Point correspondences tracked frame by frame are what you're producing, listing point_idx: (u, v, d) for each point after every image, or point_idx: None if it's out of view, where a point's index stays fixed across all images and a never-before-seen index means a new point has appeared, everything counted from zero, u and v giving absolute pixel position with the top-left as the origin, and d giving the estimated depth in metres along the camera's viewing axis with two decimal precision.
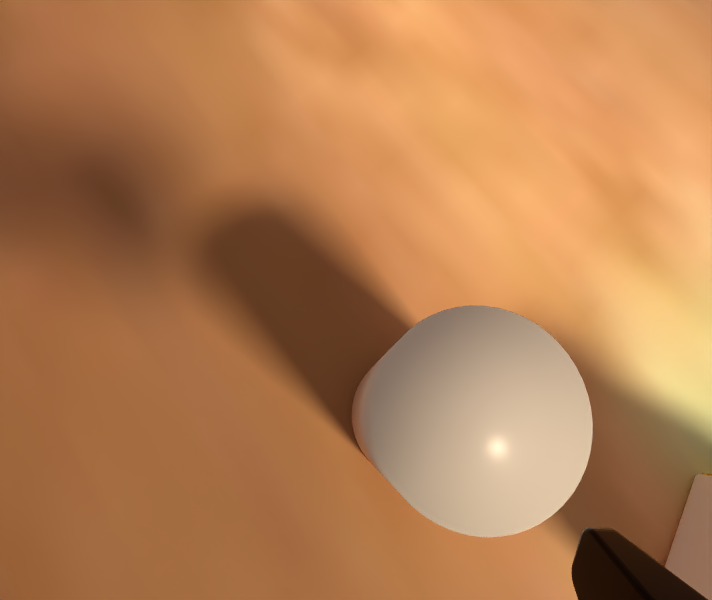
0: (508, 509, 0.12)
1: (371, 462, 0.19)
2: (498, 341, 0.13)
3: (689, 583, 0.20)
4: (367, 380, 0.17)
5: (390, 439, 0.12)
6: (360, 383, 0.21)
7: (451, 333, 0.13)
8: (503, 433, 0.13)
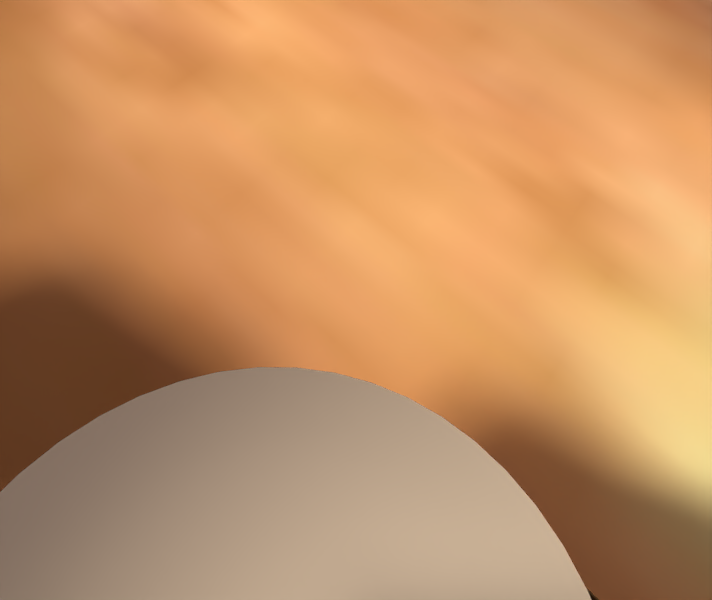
0: None
1: None
2: (299, 464, 0.05)
3: None
4: None
5: None
6: None
7: (155, 461, 0.04)
8: None
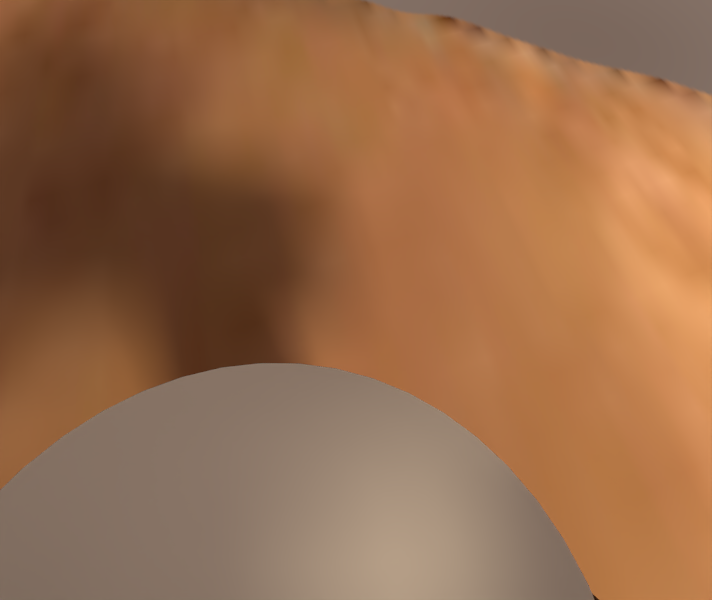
0: None
1: None
2: (303, 459, 0.05)
3: None
4: None
5: None
6: None
7: (159, 456, 0.04)
8: None
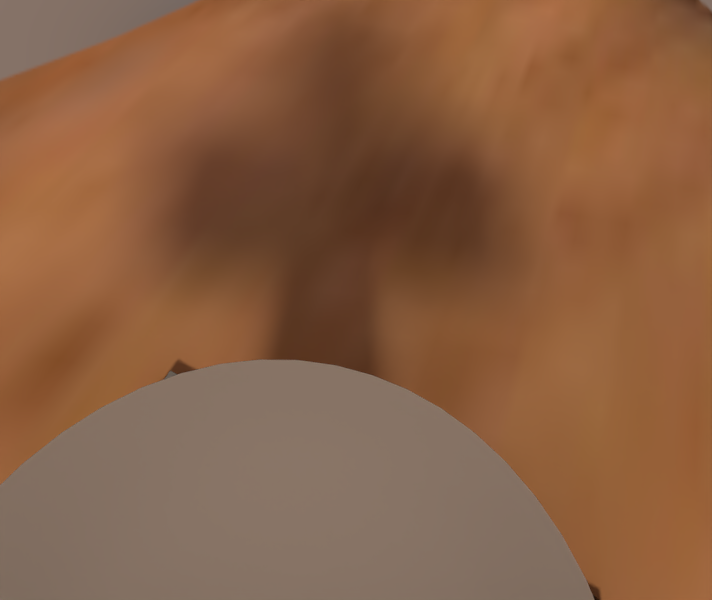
0: None
1: None
2: (302, 455, 0.05)
3: None
4: None
5: None
6: None
7: (158, 452, 0.04)
8: None
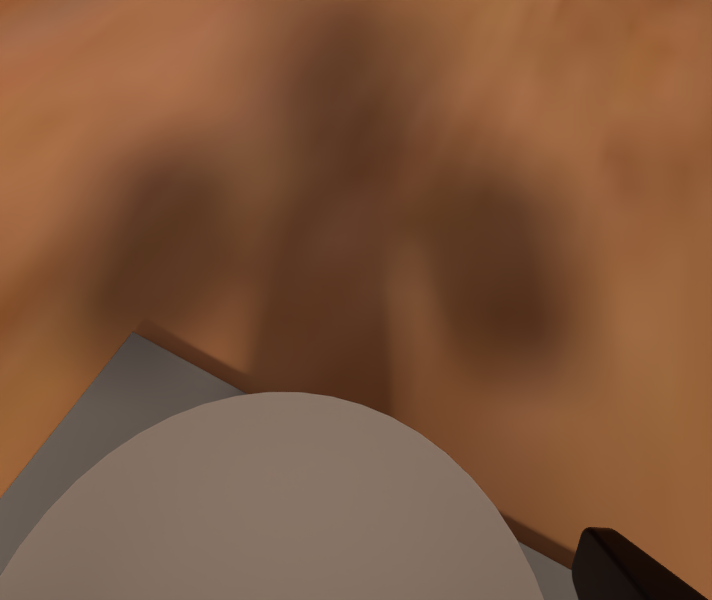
0: None
1: None
2: (303, 472, 0.06)
3: None
4: None
5: None
6: None
7: (186, 469, 0.05)
8: None
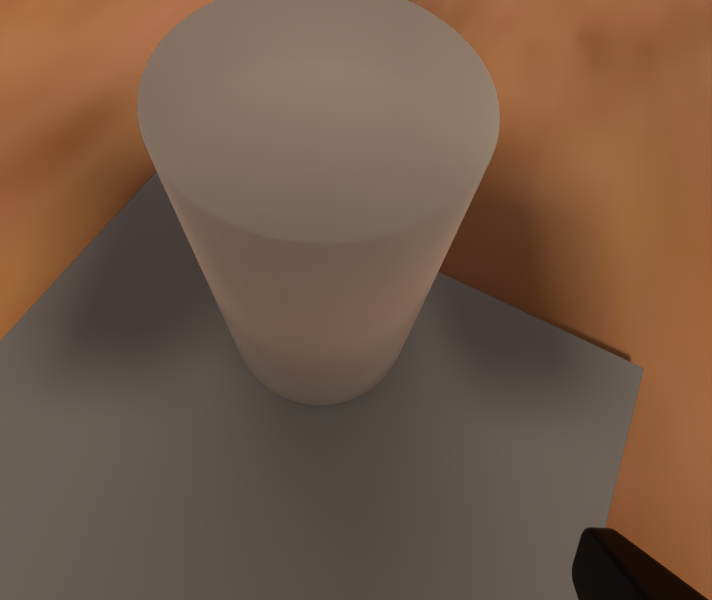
0: (377, 203, 0.07)
1: (242, 345, 0.13)
2: (339, 13, 0.09)
3: None
4: None
5: (168, 128, 0.07)
6: None
7: (267, 7, 0.09)
8: (359, 110, 0.08)
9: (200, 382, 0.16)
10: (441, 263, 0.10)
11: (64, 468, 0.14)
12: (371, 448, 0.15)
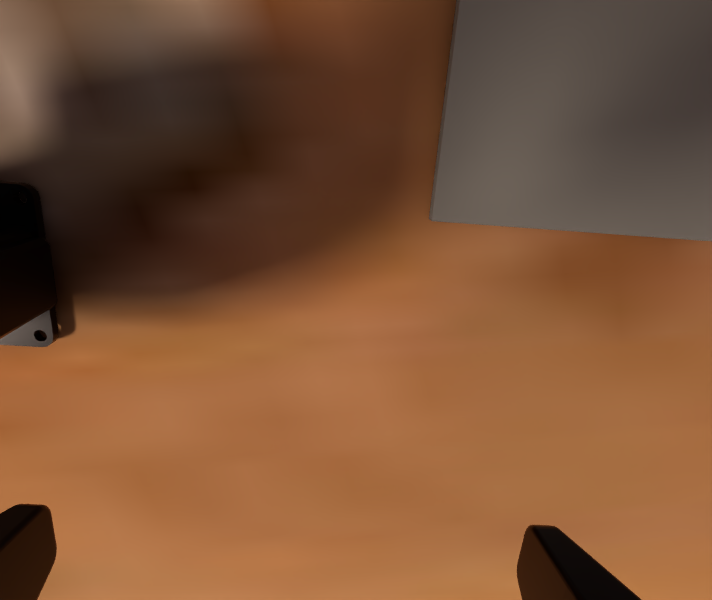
0: None
1: None
2: None
3: None
4: None
5: None
6: None
7: None
8: None
9: None
10: None
11: None
12: None
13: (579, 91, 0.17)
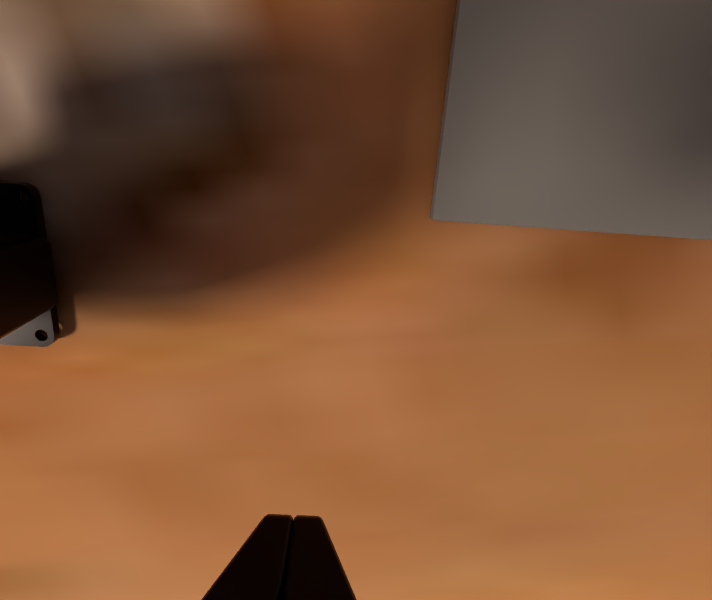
0: None
1: None
2: None
3: None
4: None
5: None
6: None
7: None
8: None
9: None
10: None
11: None
12: None
13: (580, 90, 0.17)
